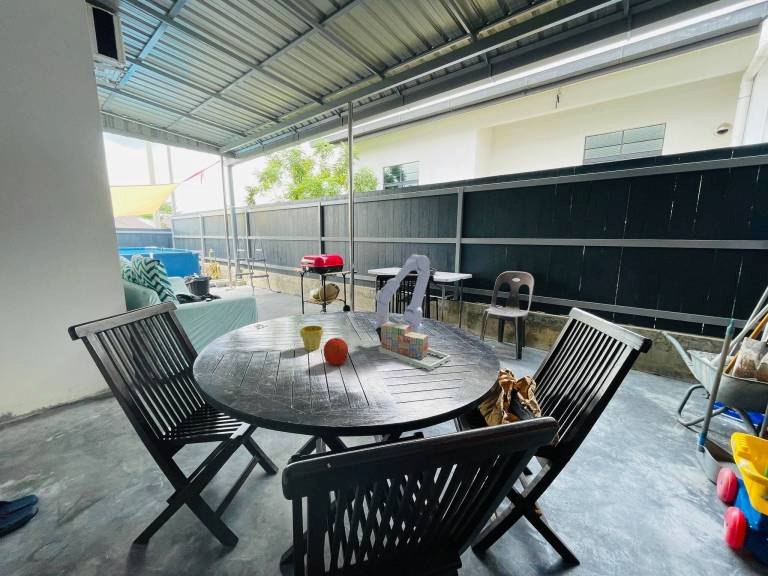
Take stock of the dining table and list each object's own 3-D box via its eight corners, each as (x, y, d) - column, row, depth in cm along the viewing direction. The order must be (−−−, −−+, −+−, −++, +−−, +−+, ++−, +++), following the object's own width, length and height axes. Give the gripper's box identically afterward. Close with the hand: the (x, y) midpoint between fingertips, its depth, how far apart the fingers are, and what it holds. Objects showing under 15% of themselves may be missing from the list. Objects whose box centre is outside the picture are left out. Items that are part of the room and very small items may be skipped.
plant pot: (310, 354, 140) (310, 333, 138) (296, 348, 146) (295, 328, 144) (327, 347, 148) (327, 328, 146) (313, 342, 154) (313, 324, 153)
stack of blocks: (427, 354, 141) (428, 328, 138) (422, 359, 135) (422, 332, 133) (387, 345, 152) (387, 321, 149) (380, 349, 146) (380, 324, 144)
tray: (400, 343, 155) (400, 339, 155) (450, 359, 135) (451, 355, 135) (378, 351, 144) (378, 347, 143) (430, 370, 124) (430, 366, 124)
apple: (324, 369, 124) (324, 342, 122) (322, 360, 134) (322, 334, 132) (349, 367, 127) (349, 340, 125) (346, 357, 136) (345, 332, 134)
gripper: (366, 314, 152) (366, 340, 155) (388, 319, 142) (387, 348, 145) (376, 311, 157) (376, 337, 160) (398, 317, 147) (397, 344, 150)
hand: (382, 342), depth 152 cm, fingers closed
